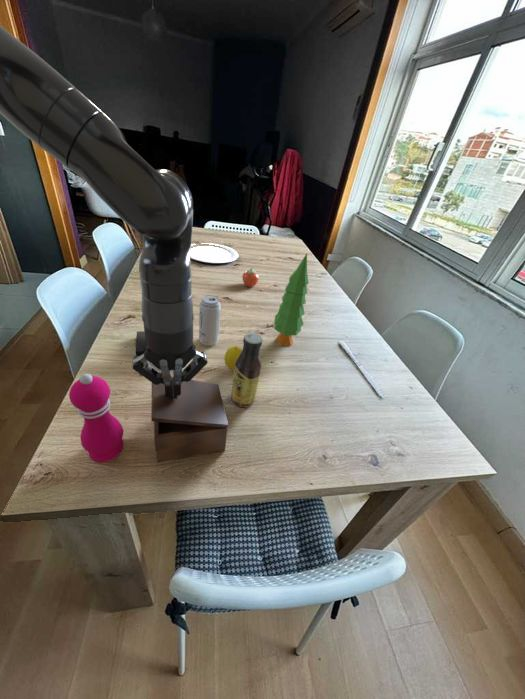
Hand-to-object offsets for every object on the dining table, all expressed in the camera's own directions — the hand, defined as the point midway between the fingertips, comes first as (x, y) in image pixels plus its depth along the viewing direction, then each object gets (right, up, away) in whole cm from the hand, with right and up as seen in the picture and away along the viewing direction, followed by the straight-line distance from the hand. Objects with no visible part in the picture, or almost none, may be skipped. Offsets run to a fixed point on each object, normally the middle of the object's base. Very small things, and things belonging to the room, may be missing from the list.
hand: (173, 395), depth 56 cm
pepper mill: (-14, -11, +3) cm, 18 cm away
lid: (+2, -2, +2) cm, 4 cm away
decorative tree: (+24, +11, +43) cm, 51 cm away
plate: (-10, +58, +98) cm, 114 cm away
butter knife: (+48, +3, +37) cm, 61 cm away
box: (+1, -10, +8) cm, 13 cm away
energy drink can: (0, +11, +37) cm, 38 cm away
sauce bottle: (+12, -4, +19) cm, 23 cm away
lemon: (+9, +3, +28) cm, 29 cm away
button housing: (-14, +10, +31) cm, 35 cm away
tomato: (+11, +37, +75) cm, 84 cm away
